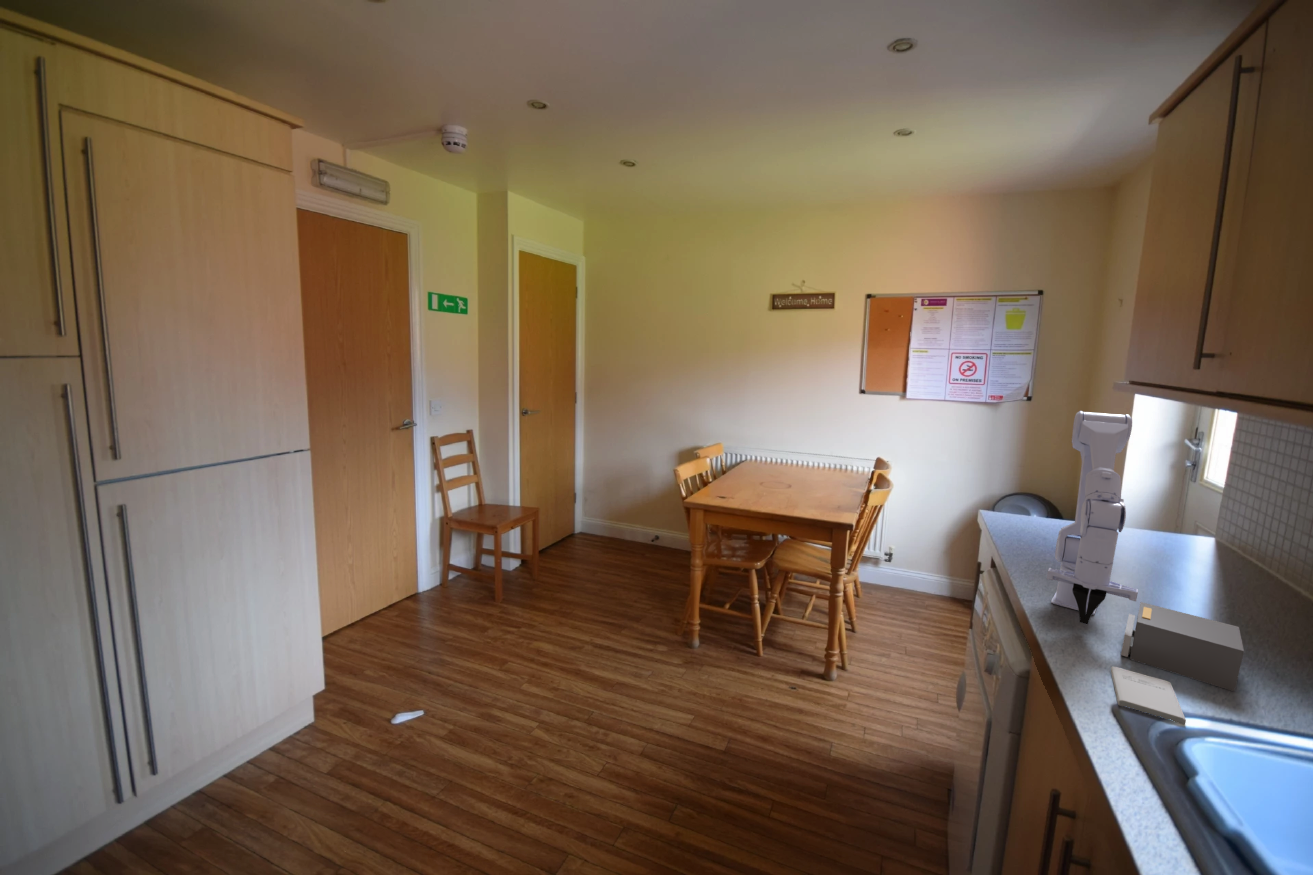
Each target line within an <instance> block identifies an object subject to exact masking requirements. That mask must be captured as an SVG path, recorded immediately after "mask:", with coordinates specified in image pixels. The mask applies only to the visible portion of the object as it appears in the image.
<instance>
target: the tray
mask: <svg viewBox="0 0 1313 875" xmlns="http://www.w3.org/2000/svg"><path fill="white" fill-rule="evenodd" d="M1135 620H1136V615H1135V614H1132V613H1128V617H1127V622H1126V627H1125V631H1124V636H1123V641H1122V646H1121V652H1120V655H1121V656H1123V657H1125V658H1128V656H1129V655H1130V656H1131V651H1132V645H1133V640H1134V635H1135V629H1134V627H1135V626H1134V625H1135Z"/></svg>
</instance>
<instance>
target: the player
mask: <svg viewBox="0 0 1313 875" xmlns="http://www.w3.org/2000/svg"><path fill="white" fill-rule="evenodd" d="M1134 630H1135V635H1134V640H1133V645H1132V651H1131V655H1130V657H1129V660H1131V661H1134V662H1138V663H1141V664H1144V665H1147V666H1150V667H1155V668H1157V669H1161V670H1164V671H1166V672H1170V673H1173V674H1176V675H1179V676H1183V677H1186V678H1189V679H1193V680H1196V681H1199V682H1202V683H1205V684H1209V685H1212V686H1215V687H1218V688H1222V689H1225V690H1228V691H1231V692H1234V693H1235V692H1236V688H1237V683H1238V679H1239V675H1240V669H1241V666H1242V661H1243V657H1244V653H1245V650H1244V645H1243V640H1242V636H1241V635H1242V634H1241V631H1240V626H1237V625H1233V624H1229V623H1226V622H1221V621H1218V620H1217V621H1216V620H1212V619H1209V618H1205V617H1202V616H1197V615H1195V614H1194V615H1193V614H1190V613H1187V612H1182V611H1178V610H1174V609H1170V608H1166V607H1161V606H1158V605H1154V604H1150V603H1147V602H1143V601H1140V603H1139V608H1138V612H1137V618H1136V622H1135V628H1134Z"/></svg>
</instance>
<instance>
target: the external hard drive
mask: <svg viewBox="0 0 1313 875" xmlns="http://www.w3.org/2000/svg"><path fill="white" fill-rule="evenodd" d="M1110 673H1111V678H1112V682H1113V686H1114V691H1115V696H1116V700H1117V704H1118V706H1120V707H1123V706H1127V707H1130V708H1134V709H1136V710H1140V711H1142V712H1141V713H1143V712H1147V713H1150V714H1153V715H1156V716H1155V717H1157V716H1161V717H1163V718H1165V719H1164V720H1167V719H1171V720H1173V721H1175V722H1174V723H1177V724H1181V725H1184V726H1186V723H1187V719H1186V716H1185V715H1184V713H1183V709H1182V707H1181V705H1180V702H1179V700H1178V698H1177V695H1176V692H1175V690H1174V688H1173V686H1172V683H1171V682H1170V681H1167V680H1165V679H1161V678H1158V677H1154V676H1150V675H1146V674H1143V673H1139V672H1136V671H1132V670H1128V669H1125V668H1121V667H1117V666H1111V668H1110ZM1130 708H1129V709H1130ZM1136 710H1135V711H1136ZM1140 711H1139V712H1140ZM1150 714H1149V715H1150ZM1153 715H1152V716H1153ZM1163 718H1162V719H1163ZM1173 721H1172V722H1173Z"/></svg>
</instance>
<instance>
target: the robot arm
mask: <svg viewBox="0 0 1313 875" xmlns="http://www.w3.org/2000/svg"><path fill="white" fill-rule="evenodd" d="M1132 429H1133V418H1132V417H1131V415H1130V414H1129V413H1128V414H1117V413H1105V412H1104V413H1103V412H1090V411H1083V410H1079V411H1077V412H1076V413H1075V416H1074V420H1073V426H1072V434H1071V435H1072V436H1071V444H1072V448H1073V449H1074V450H1077V451H1078V452H1080V459H1081V469H1080V476H1079V485H1078V492H1077V502H1076V510H1075V516H1074V517H1075V518H1074V522H1072V523H1070V524H1068V525H1065V526H1063V527H1061V528H1060V529H1059V531H1058V535H1057V536H1058V537H1057V540H1056V544H1055V556H1054V557H1055V560H1056V561H1057V563H1060V569H1055V568H1051V567H1049V568H1048V570H1047V573H1046V580H1049V581H1053V580H1054V581H1057V588H1056V592H1055V593H1054V595H1053V597H1052V598H1051V600H1050V603H1052V604H1054V605H1057V606H1060V607H1064V608H1067V609H1072V610H1075V611H1078V614H1079V623H1080V624H1084V625H1086V626H1087V625H1089V622H1090V619H1091V617H1092V615H1095V613H1096V611H1097V608H1098V607H1099V606H1100V604H1102V603H1103V601H1104V600H1105V599H1106V597H1107V594H1109V595H1113V596H1117V597H1121V598H1124V599H1128V600H1129V601H1133V602H1137V599H1138V592H1139V589H1138V588H1133V587H1130V586H1127V585H1125V584H1120V583H1118V582H1115V581H1113V580H1111V576H1112V570H1113V565H1114V560H1115V555H1116V550H1117V549H1116V548H1117V542H1118V539H1119V538H1118V537H1119V533H1122V531H1123V529H1124V527H1125V525H1126V519H1127V510H1126V504H1125V500H1124V498H1122V477H1121V476H1120V474H1119V473H1118V472H1116V471H1115V466H1116V465H1115V463H1116V456H1117V455H1116V454H1121V453H1122V451H1123V449H1125V447H1126V445H1127V443H1128V441H1129V440H1130V437H1131V434H1132ZM1073 536H1074V537H1073ZM1079 537H1080V538H1079Z"/></svg>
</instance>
